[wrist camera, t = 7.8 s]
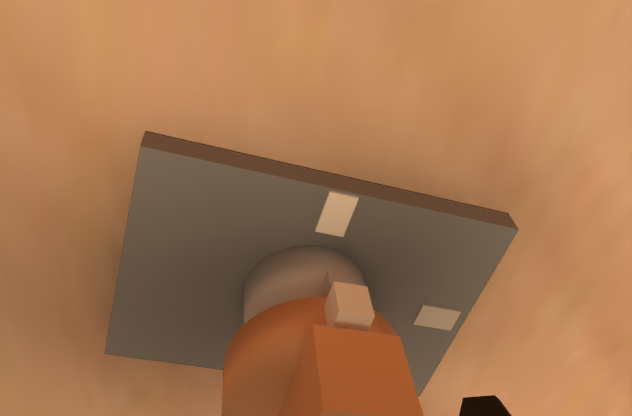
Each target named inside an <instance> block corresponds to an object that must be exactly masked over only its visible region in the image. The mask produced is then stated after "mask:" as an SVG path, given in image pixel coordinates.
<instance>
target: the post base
mask: <svg viewBox="0 0 632 416" xmlns="http://www.w3.org/2000/svg"><path fill="white" fill-rule="evenodd" d="M518 230H519V229H518V228H517V226H516V225H515V223H514V222H513V220H512V219H511V217H510V215H509V214H508V213H503V212H499V211H494V210H490V209H486V208H481V207H477V206H472V205H468V204H464V203H459V202H455V201H450V200H446V199H442V198H437V197H433V196H428V195H424V194H420V193H415V192H411V191H406V190H402V189H398V188H393V187H389V186H384V185H380V184H375V183H371V182H367V181H362V180H358V179H353V178H349V177H345V176H340V175H336V174H331V173H327V172H323V171H318V170H314V169H309V168H305V167H301V166H296V165H292V164H287V163H283V162H278V161H274V160H270V159H265V158H261V157H256V156H252V155H248V154H243V153H239V152H234V151H230V150H226V149H221V148H217V147H212V146H208V145H204V144H199V143H195V142H190V141H186V140H181V139H177V138H173V137H168V136H164V135H159V134H155V133H151V132H146V131H145V134H144V137H143V140H142V143H141V146H140V152H139V158H138V163H137V169H136V175H135V181H134V186H133V192H132V198H131V204H130V209H129V215H128V221H127V227H126V233H125V238H124V244H123V250H122V256H121V261H120V267H119V273H118V279H117V284H116V290H115V296H114V302H113V307H112V313H111V319H110V325H109V331H108V336H107V342H106V348H105V354H109V355H117V356H124V357H132V358H139V359H146V360H154V361H161V362H168V363H176V364H183V365H191V366H198V367H205V368H213V369H220V370H224V358H225V353H226V350H227V347H228V345H229V343H230V341H231V340H232V338H233V336H234V335H235V334H236V332H237V331H238V330H239V329H240V328H241V327H242V326H243V325H244V324H245V323H246V322H247V321H249V320H250V319H251V318H253V317H254V316H256V315H257V314H259V313H261V312H262V311H264V310H266V309H268V308H270V307H273V306H275V305H278V304H281V303H284V302H287V301H291V300H296V299H301V298H309V297H328V294H329V292H330V289H331V287H332V284H333V281H335V282H341V283H348V284H354V285H360V286H367V287H368V291H369V295H370V299H371V303H372V307H373V310H374V311H376V312H377V313H379V314H380V315H381V316H383V317H384V318H385V319H386V320H387V321H388V322H389V323H390V325H391V326H392V327H393V329H394V330H395V332H396V334H397V336H400V338H401V341H402V345H403V348H404V351H405V355H406V358H407V362H408V365H409V368H410V372H411V375H412V379H413V382H414V386H415V389H416V392H417V396H419V397H420V395H421V393H422V392H423V390H424V388H425V387H426V385H427V383H428V382H429V380H430V378H431V376H432V375H433V373H434V371H435V370H436V368H437V366H438V365H439V363H440V361H441V360H442V358H443V356H444V355H445V353H446V351H447V349H448V348H449V346H450V344H451V343H452V341H453V339H454V338H455V336H456V334H457V333H458V331H459V329H460V328H461V326H462V324H463V323H464V321H465V319H466V317H467V316H468V314H469V312H470V311H471V309H472V307H473V306H474V304H475V302H476V301H477V299H478V297H479V296H480V294H481V292H482V291H483V289H484V287H485V285H486V284H487V282H488V280H489V279H490V277H491V275H492V274H493V272H494V270H495V269H496V267H497V265H498V264H499V262H500V260H501V259H502V257H503V255H504V253H505V252H506V250H507V248H508V247H509V245H510V243H511V242H512V240H513V238H514V237H515V235H516V233H517V232H518Z"/></svg>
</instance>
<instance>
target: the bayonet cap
mask: <svg viewBox="0 0 632 416" xmlns="http://www.w3.org/2000/svg"><path fill="white" fill-rule="evenodd" d="M222 416H423V413H422V409H421V406H420V403H419V399H418V396H417V392H416V389H415V386H414V382H413V379H412V375H411V372H410V368H409V365H408V362H407V358H406V355H405V351H404V348H403V345H402V341H401V338H400V336H397V334H396V332H395V330H394V329H393V327H392V326H391V325H390V323H389V322H388V321H387V320H386V319H385V318H384V317H383V316H381V315H380V314H379V313H377V312H376V311H374V310H373V307H372V303H371V299H370V295H369V291H368V287H367V286H360V285H354V284H348V283H341V282H335V281H333V284H332V287H331V289H330V292H329V294H328V297H309V298H301V299H296V300H291V301H287V302H284V303H281V304H278V305H275V306H273V307H270V308H268V309H266V310H264V311H262V312H261V313H259V314H257V315H256V316H254V317H253V318H251V319H250V320H249V321H247V322H246V323H245V324H244V325H243V326H242V327H241V328H240V329H239V330H238V331H237V332H236V334H235V335H234V336H233V338H232V340H231V341H230V343H229V345H228V347H227V350H226V353H225V358H224V371H223V394H222Z"/></svg>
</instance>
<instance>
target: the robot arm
mask: <svg viewBox="0 0 632 416" xmlns="http://www.w3.org/2000/svg"><path fill="white" fill-rule="evenodd" d="M459 416H511V414H510V413H509V412H508V410H507V409H506V408H505V406H504V405H503V404H502V402H501V401H500V400H499V399H498V398H497V397H496V396H495V395H493V396H480V397H467V398H463V401H462V405H461V410H460V414H459Z"/></svg>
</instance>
